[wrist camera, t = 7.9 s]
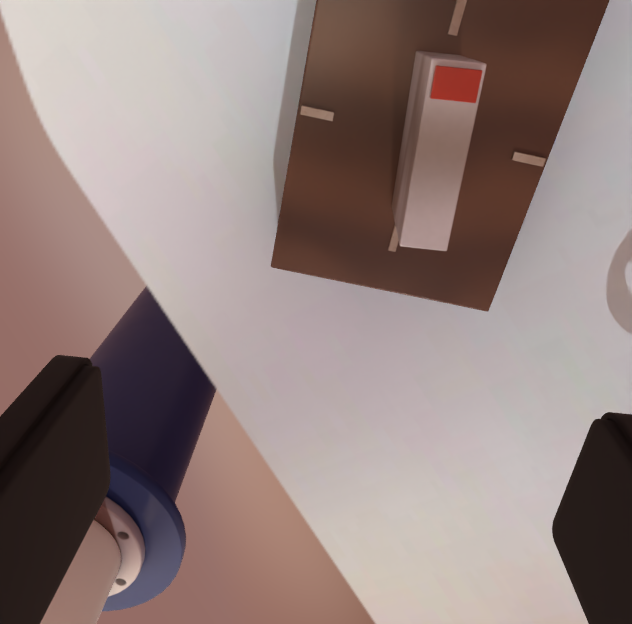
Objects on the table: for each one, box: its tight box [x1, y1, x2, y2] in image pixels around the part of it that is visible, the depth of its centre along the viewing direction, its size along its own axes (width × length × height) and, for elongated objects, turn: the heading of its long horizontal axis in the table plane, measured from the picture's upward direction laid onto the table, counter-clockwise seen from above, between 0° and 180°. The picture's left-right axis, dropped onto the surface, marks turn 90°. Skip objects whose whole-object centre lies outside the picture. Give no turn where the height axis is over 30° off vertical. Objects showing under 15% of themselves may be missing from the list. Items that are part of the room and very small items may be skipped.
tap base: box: [271, 0, 609, 311], centre depth 25 cm, size 15×11×4 cm
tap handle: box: [391, 51, 486, 251], centre depth 21 cm, size 6×2×5 cm, turn 175°
